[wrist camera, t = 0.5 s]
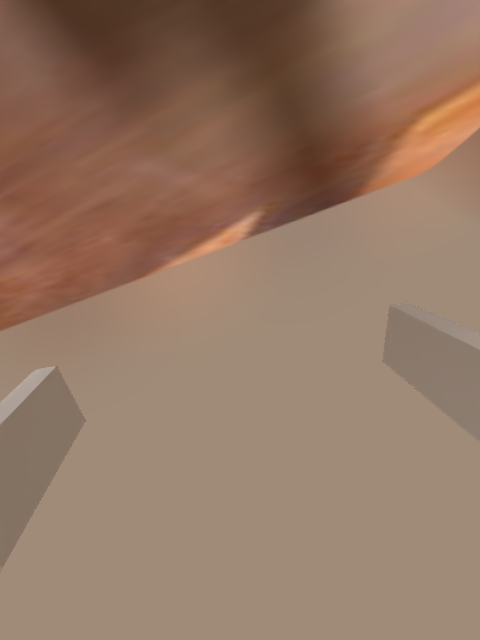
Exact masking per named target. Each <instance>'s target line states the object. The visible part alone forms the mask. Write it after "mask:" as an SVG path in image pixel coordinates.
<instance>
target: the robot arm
mask: <svg viewBox="0 0 480 640" xmlns="http://www.w3.org/2000/svg"><path fill="white" fill-rule="evenodd" d="M383 362H384V363H385V364H386V365H387V366H388V367H390V368H391V369H392V370H393V371H395V372H396V373H397V374H398V375H400V376H401V377H402V378H403V379H404V380H405V381H407V382H408V383H409V384H410V385H412V386H413V387H414V388H415V389H416V390H417V391H419V392H420V393H421V394H422V395H423V396H425V397H426V398H427V399H428V400H430V401H431V402H432V403H433V404H434V405H436V406H437V407H438V408H439V409H440V410H442V411H443V412H444V413H445V414H447V415H448V416H449V417H450V418H451V419H453V420H454V421H455V422H456V423H457V424H459V425H460V426H461V427H462V428H463V429H465V430H466V431H467V432H468V433H470V434H471V435H472V436H473V437H474V438H475V439H477V440H478V441H479V442H480V334H479V333H477V332H475V331H472V330H470V329H468V328H465V327H463V326H461V325H458V324H456V323H454V322H452V321H449V320H447V319H445V318H443V317H440V316H438V315H436V314H433V313H431V312H428V311H426V310H424V309H422V308H420V307H417V306H415V305H413V304H410V303H408V302H405V303H399V304H393V305H390V306H389V313H388V322H387V329H386V337H385V346H384V353H383ZM85 421H86V420H85V418H84V416H83V414H82V412H81V411H80V409H79V407H78V405H77V403H76V401H75V399H74V397H73V395H72V394H71V392H70V390H69V388H68V386H67V384H66V382H65V380H64V379H63V377H62V375H61V373H60V371H59V369H58V367H57V366H54V367H48V368H43V369H36V370H34V371H33V372H32V373H31V374H30V375H29V376H28V377H27V378H26V379H25V380H24V381H23V382H22V383H21V384H19V385H18V386H17V387H16V388H15V389H14V390H13V391H12V392H11V393H10V394H9V395H8V396H7V397H6V398H5V399H3V400H2V401H1V402H0V571H1V569H2V568H3V566H4V564H5V562H6V561H7V559H8V557H9V555H10V554H11V552H12V550H13V548H14V546H15V545H16V543H17V541H18V539H19V538H20V536H21V534H22V532H23V530H24V529H25V527H26V525H27V523H28V522H29V520H30V518H31V516H32V515H33V513H34V511H35V509H36V508H37V506H38V504H39V502H40V500H41V498H42V497H43V495H44V493H45V492H46V490H47V488H48V486H49V485H50V483H51V481H52V479H53V477H54V476H55V474H56V472H57V470H58V469H59V467H60V465H61V463H62V462H63V460H64V458H65V456H66V455H67V452H68V451H69V449H70V447H71V446H72V444H73V442H74V440H75V439H76V437H77V435H78V433H79V432H80V430H81V428H82V426H83V424H84V422H85Z"/></svg>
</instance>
